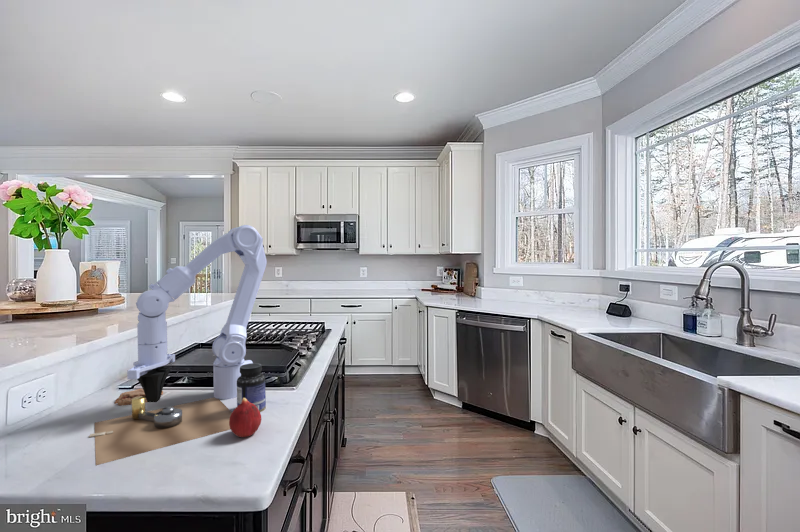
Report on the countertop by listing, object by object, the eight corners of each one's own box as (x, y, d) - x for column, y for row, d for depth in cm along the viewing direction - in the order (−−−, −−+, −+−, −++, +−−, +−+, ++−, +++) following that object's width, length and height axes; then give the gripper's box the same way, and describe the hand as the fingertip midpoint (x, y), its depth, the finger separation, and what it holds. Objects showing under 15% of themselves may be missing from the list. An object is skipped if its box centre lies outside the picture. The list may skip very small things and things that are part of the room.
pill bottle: (270, 408, 91) (269, 362, 91) (259, 419, 85) (258, 369, 85) (244, 408, 91) (244, 362, 91) (231, 418, 85) (231, 369, 85)
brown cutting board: (216, 400, 96) (216, 395, 96) (244, 430, 79) (244, 424, 79) (88, 428, 81) (88, 422, 81) (89, 473, 64) (88, 465, 64)
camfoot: (187, 419, 82) (187, 400, 82) (165, 429, 77) (165, 409, 77) (146, 411, 86) (145, 393, 86) (123, 420, 82) (122, 401, 81)
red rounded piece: (267, 434, 77) (267, 394, 77) (247, 447, 72) (246, 405, 72) (244, 430, 79) (243, 391, 79) (222, 443, 74) (222, 401, 74)
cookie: (172, 395, 101) (172, 384, 101) (142, 411, 90) (142, 398, 90) (137, 395, 102) (137, 383, 102) (103, 410, 91) (103, 397, 91)
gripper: (154, 336, 96) (155, 390, 96) (112, 349, 81) (113, 414, 81) (183, 336, 96) (183, 390, 96) (146, 349, 81) (147, 413, 82)
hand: (153, 401), depth 89 cm, fingers closed
